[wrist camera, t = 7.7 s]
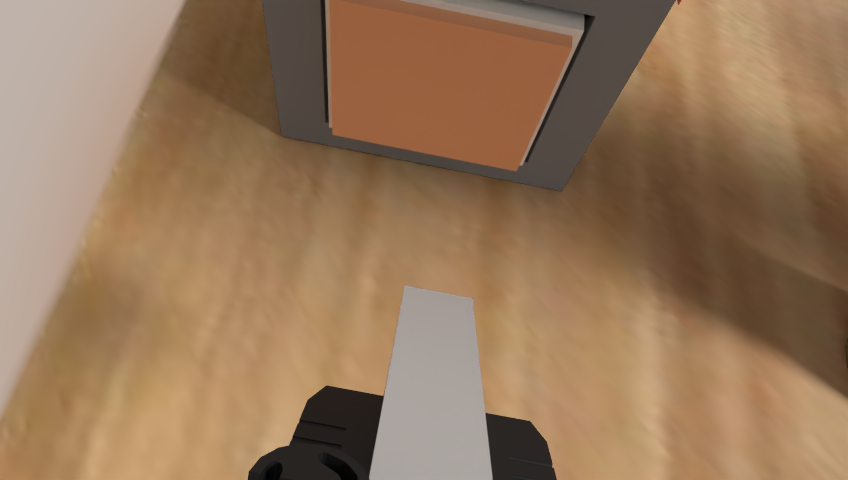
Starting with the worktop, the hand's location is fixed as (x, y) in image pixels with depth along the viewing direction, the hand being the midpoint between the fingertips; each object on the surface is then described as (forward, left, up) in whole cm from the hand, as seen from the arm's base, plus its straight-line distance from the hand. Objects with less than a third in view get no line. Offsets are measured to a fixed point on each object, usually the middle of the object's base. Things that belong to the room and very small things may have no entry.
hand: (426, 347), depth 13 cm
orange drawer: (-13, -9, -9) cm, 18 cm away
